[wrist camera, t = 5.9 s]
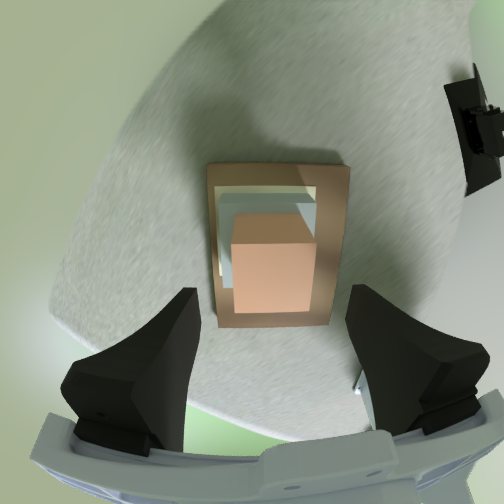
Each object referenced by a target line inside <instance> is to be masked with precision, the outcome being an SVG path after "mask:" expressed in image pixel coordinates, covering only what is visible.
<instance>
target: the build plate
mask: <svg viewBox="0 0 504 504" xmlns="http://www.w3.org/2000/svg"><path fill="white" fill-rule="evenodd" d="M472 66H473V74H474V78H472V79H468V80H463V81H459V82H454V83H450V84H446V85H444V89H445V92H446V95H447V99H448V102H449V105H450V108H451V112H452V115H453V119H454V123H455V126H456V130H457V134H458V139H459V143H460V148H461V153H462V158H463V163H464V169H465V175H466V182H467V185H466V190H465V196H464V198H465V197H467V196H469V195H471V194H473V193H475V192H476V191H478V190H480V189H482V188H484V187H486V186H488V185H490V184H492V183H493V182H495V181H497V180H499V179H501V177H502V175H501V166H500V159H499V158H500V157H502V156H504V136H503V134H502V131H504V111H503V110H500V107H494V106H493V105H492V104H490V105H488V106H486V103H485V100H486V102H487V103H488V101H487V97H486V94H485V90H484V87H483V84H482V81H481V78H480V75H479V72H478V70H477V67H476V64H475V63H472Z"/></svg>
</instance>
